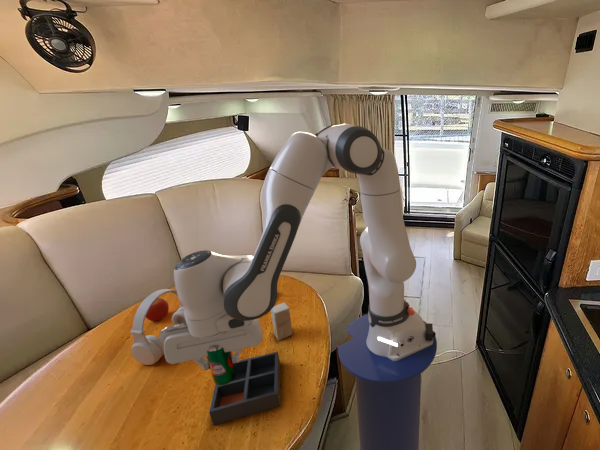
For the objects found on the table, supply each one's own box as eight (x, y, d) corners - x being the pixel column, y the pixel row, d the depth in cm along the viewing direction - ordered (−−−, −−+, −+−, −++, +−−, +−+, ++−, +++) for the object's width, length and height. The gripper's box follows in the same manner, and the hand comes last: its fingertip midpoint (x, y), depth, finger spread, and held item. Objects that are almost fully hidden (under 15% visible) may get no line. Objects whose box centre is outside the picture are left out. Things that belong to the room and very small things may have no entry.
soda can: (209, 384, 77) (198, 346, 73) (224, 368, 81) (214, 331, 77) (226, 388, 76) (216, 349, 71) (241, 372, 80) (232, 335, 76)
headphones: (158, 367, 94) (139, 315, 87) (134, 365, 95) (112, 312, 88) (205, 324, 113) (192, 278, 106) (184, 322, 114) (169, 276, 107)
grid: (280, 363, 96) (277, 351, 94) (279, 406, 82) (277, 393, 81) (223, 376, 91) (220, 364, 89) (213, 425, 77) (209, 412, 76)
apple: (158, 325, 112) (152, 307, 109) (139, 323, 113) (133, 305, 110) (176, 312, 119) (170, 295, 116) (158, 310, 120) (152, 293, 117)
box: (278, 341, 105) (273, 313, 101) (274, 334, 108) (269, 307, 104) (293, 334, 108) (289, 307, 104) (288, 327, 111) (284, 301, 107)
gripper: (151, 338, 66) (169, 386, 71) (256, 317, 72) (265, 363, 77) (161, 320, 71) (177, 366, 77) (257, 302, 78) (266, 346, 83)
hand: (222, 364), depth 77 cm, fingers closed on soda can, 5 cm apart
